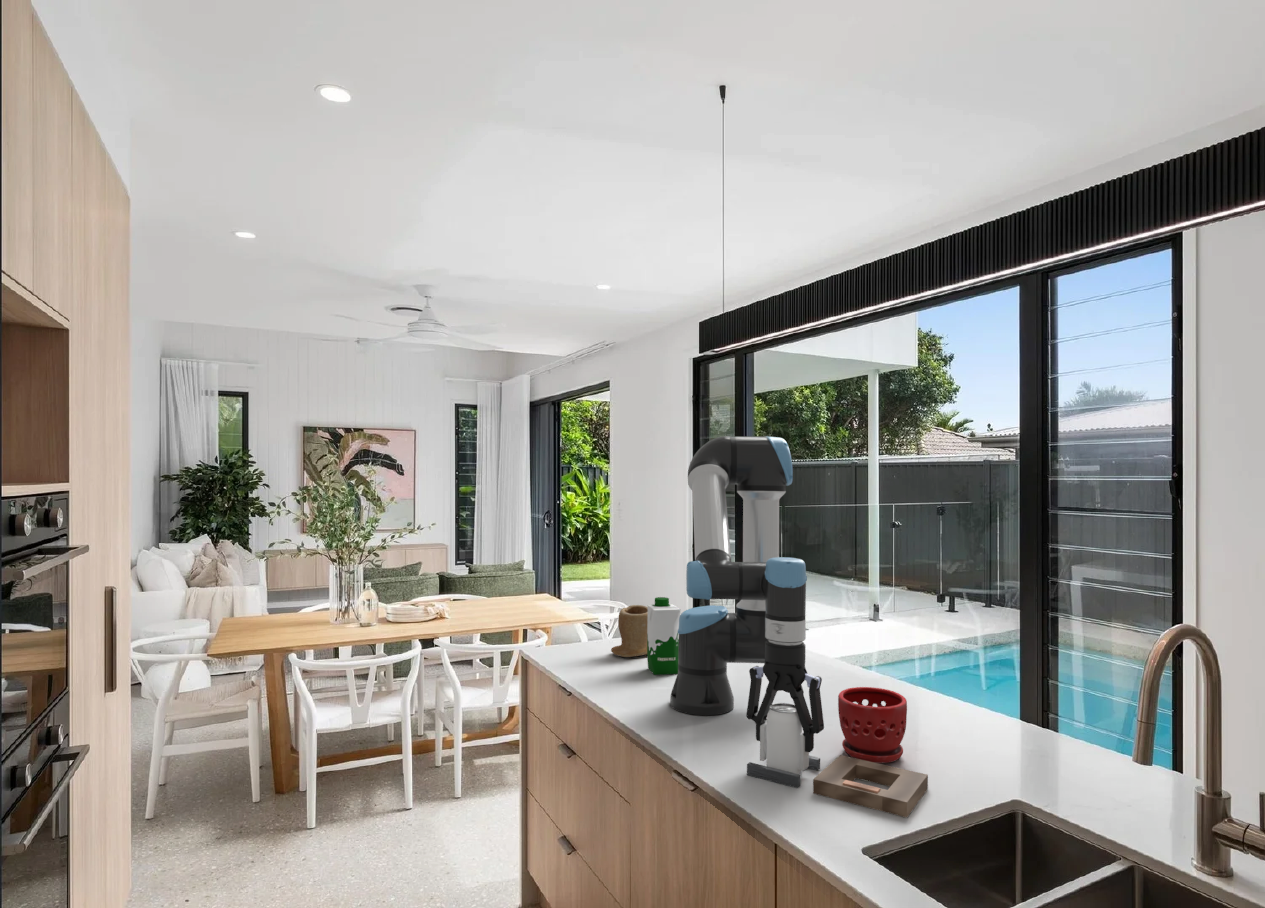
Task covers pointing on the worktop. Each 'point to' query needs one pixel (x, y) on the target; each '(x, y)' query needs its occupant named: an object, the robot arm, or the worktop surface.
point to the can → (783, 737)
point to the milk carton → (663, 637)
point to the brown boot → (632, 631)
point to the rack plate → (894, 800)
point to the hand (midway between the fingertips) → (784, 763)
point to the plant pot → (872, 723)
